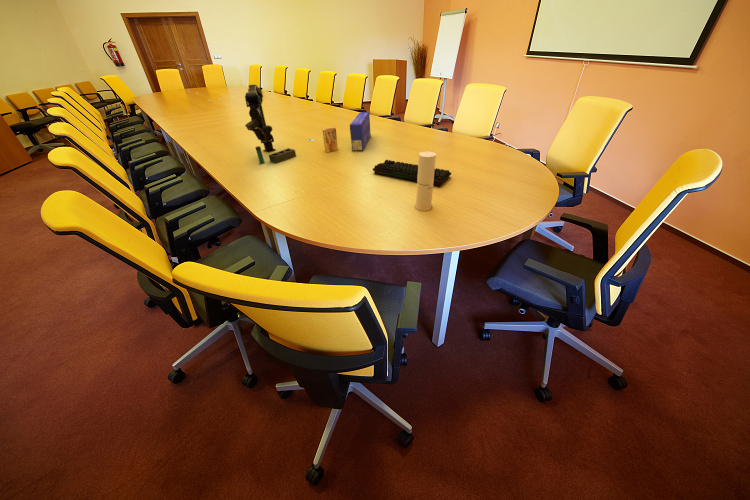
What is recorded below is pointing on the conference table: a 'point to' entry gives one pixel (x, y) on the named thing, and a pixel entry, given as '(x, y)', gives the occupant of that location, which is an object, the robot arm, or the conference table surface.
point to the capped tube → (259, 154)
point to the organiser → (282, 155)
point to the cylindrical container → (425, 180)
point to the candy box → (330, 139)
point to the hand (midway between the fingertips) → (263, 140)
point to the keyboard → (408, 172)
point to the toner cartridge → (360, 131)
